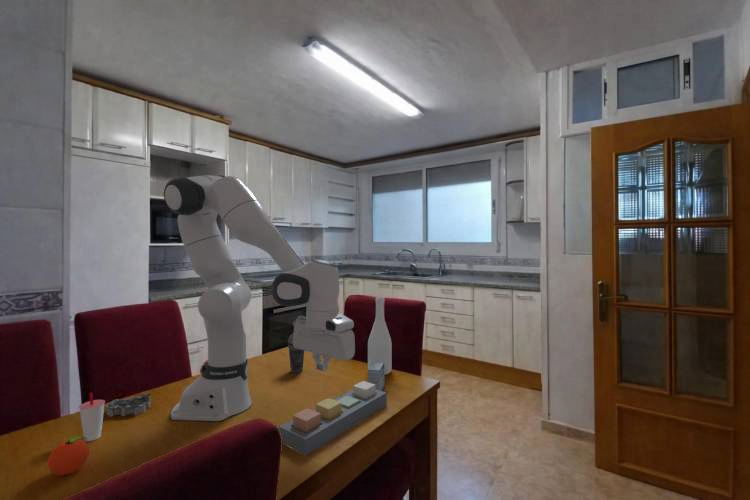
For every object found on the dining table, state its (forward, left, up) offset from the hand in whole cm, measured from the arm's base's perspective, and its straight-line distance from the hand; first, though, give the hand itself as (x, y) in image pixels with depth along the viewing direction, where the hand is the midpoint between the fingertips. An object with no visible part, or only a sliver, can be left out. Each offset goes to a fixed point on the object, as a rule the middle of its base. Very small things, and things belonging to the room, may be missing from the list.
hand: (321, 369), depth 96 cm
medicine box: (+19, +24, -17) cm, 35 cm away
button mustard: (+2, +1, -13) cm, 14 cm away
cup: (-59, +4, -17) cm, 62 cm away
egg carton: (-58, +20, -17) cm, 64 cm away
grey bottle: (+23, +42, -17) cm, 51 cm away
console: (+5, +4, -17) cm, 18 cm away
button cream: (+13, +13, -13) cm, 23 cm away
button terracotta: (-4, -4, -13) cm, 15 cm away
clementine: (-55, -10, -17) cm, 59 cm away
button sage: (+8, +7, -15) cm, 19 cm away
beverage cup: (-10, +47, -17) cm, 51 cm away
